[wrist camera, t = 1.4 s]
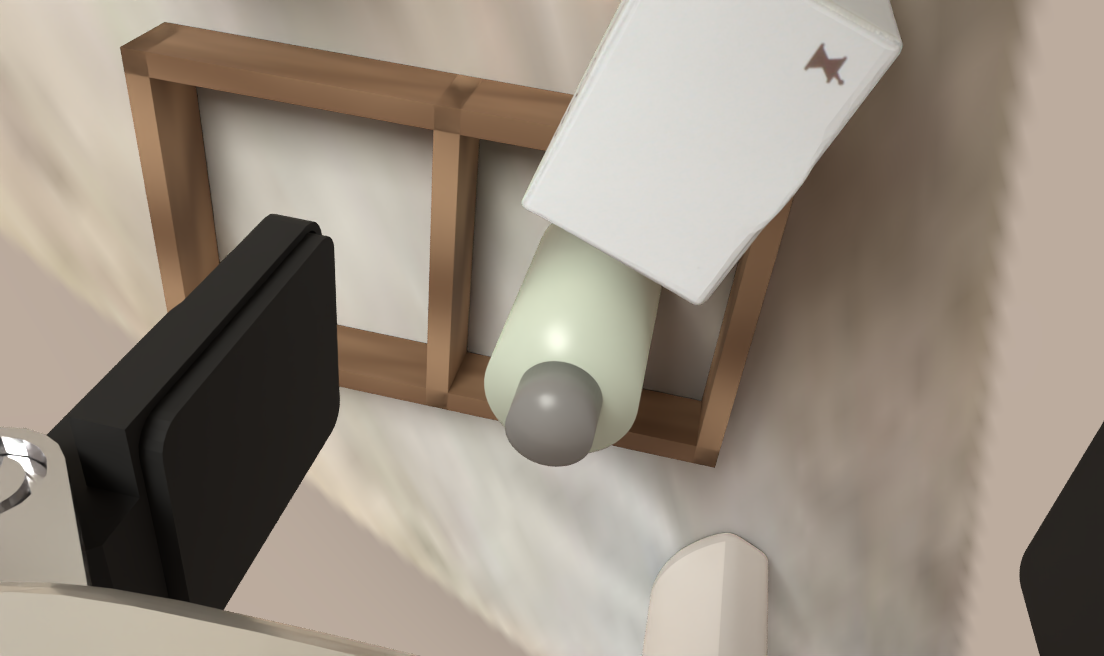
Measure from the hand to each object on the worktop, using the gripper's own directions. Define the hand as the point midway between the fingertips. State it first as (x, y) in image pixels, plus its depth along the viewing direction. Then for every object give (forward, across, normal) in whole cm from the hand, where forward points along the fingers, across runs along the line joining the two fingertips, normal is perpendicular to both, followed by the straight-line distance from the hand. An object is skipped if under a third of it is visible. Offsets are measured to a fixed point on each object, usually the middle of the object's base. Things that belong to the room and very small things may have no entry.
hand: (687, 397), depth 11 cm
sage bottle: (+18, +3, +9) cm, 21 cm away
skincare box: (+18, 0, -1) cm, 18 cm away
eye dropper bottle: (+19, -4, +23) cm, 30 cm away
